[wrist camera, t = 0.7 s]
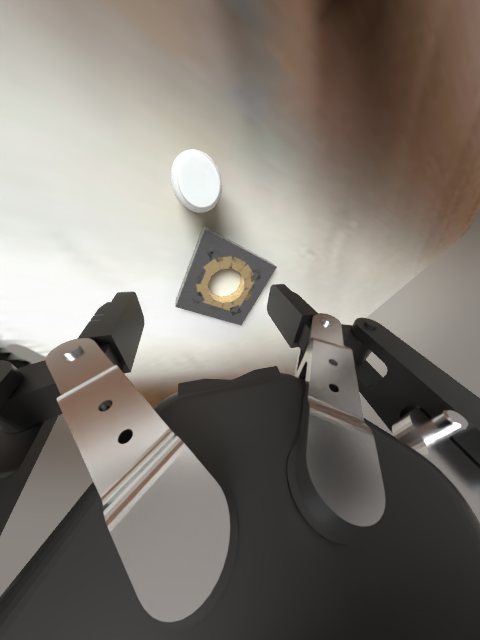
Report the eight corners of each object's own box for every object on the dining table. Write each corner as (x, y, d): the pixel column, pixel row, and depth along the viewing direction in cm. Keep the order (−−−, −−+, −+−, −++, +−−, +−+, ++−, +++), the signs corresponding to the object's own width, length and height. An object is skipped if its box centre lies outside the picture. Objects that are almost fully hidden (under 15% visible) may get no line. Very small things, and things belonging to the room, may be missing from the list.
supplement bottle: (165, 163, 22) (157, 148, 14) (206, 154, 22) (219, 135, 15) (182, 212, 25) (183, 221, 18) (217, 203, 25) (232, 208, 18)
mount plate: (203, 225, 27) (205, 228, 25) (271, 262, 33) (276, 266, 31) (175, 299, 33) (175, 306, 31) (238, 318, 39) (241, 325, 37)
